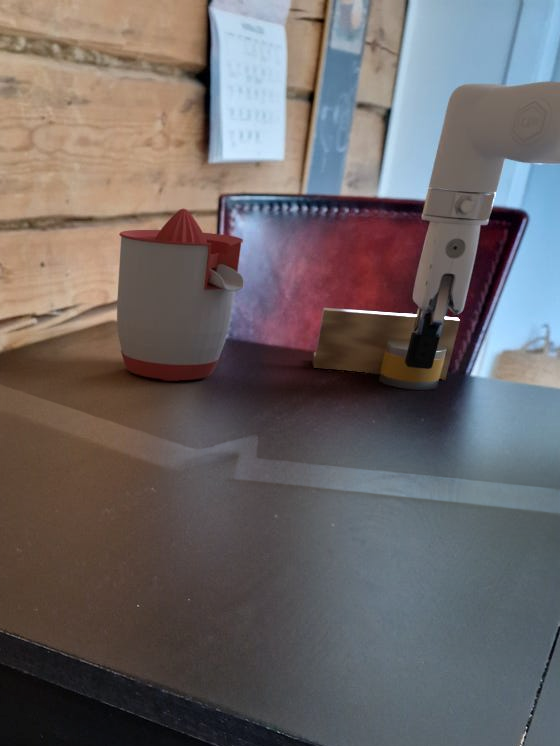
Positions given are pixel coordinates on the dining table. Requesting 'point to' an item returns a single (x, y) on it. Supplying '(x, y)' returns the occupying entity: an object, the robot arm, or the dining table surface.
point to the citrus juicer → (176, 298)
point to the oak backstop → (369, 338)
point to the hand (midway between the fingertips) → (417, 366)
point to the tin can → (409, 368)
